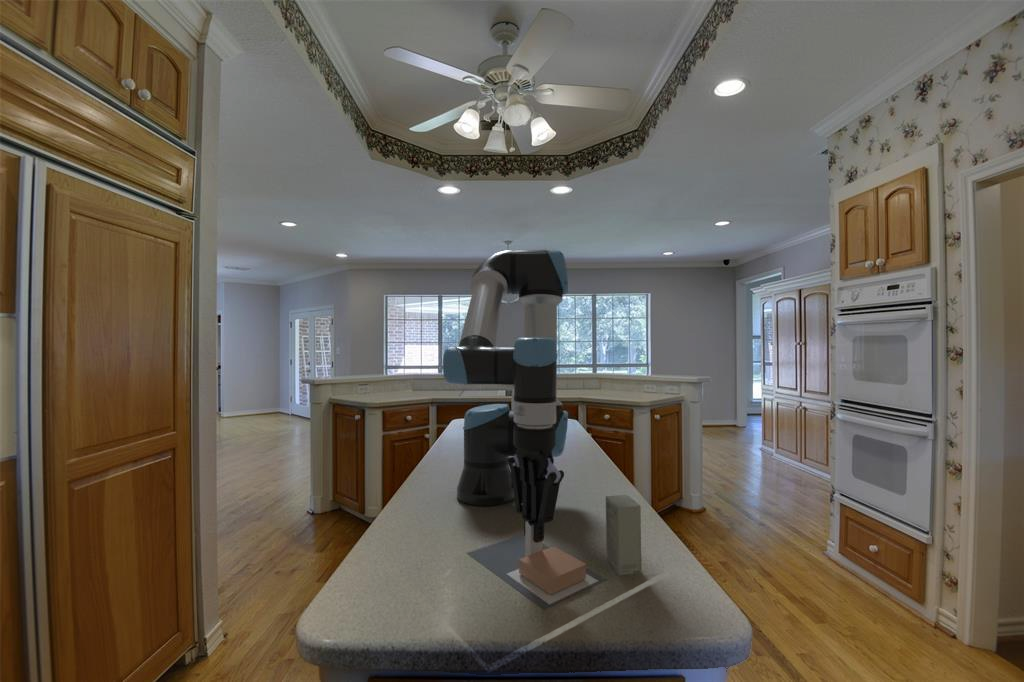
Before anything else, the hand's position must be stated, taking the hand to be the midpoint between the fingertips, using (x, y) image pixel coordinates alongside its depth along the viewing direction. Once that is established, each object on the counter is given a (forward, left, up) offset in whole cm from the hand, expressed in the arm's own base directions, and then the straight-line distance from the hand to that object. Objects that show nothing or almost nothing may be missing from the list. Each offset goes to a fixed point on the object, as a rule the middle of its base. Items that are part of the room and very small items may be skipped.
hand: (533, 557), depth 80 cm
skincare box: (+9, +13, -3) cm, 16 cm away
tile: (+1, 0, 0) cm, 1 cm away
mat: (0, 0, -2) cm, 2 cm away
